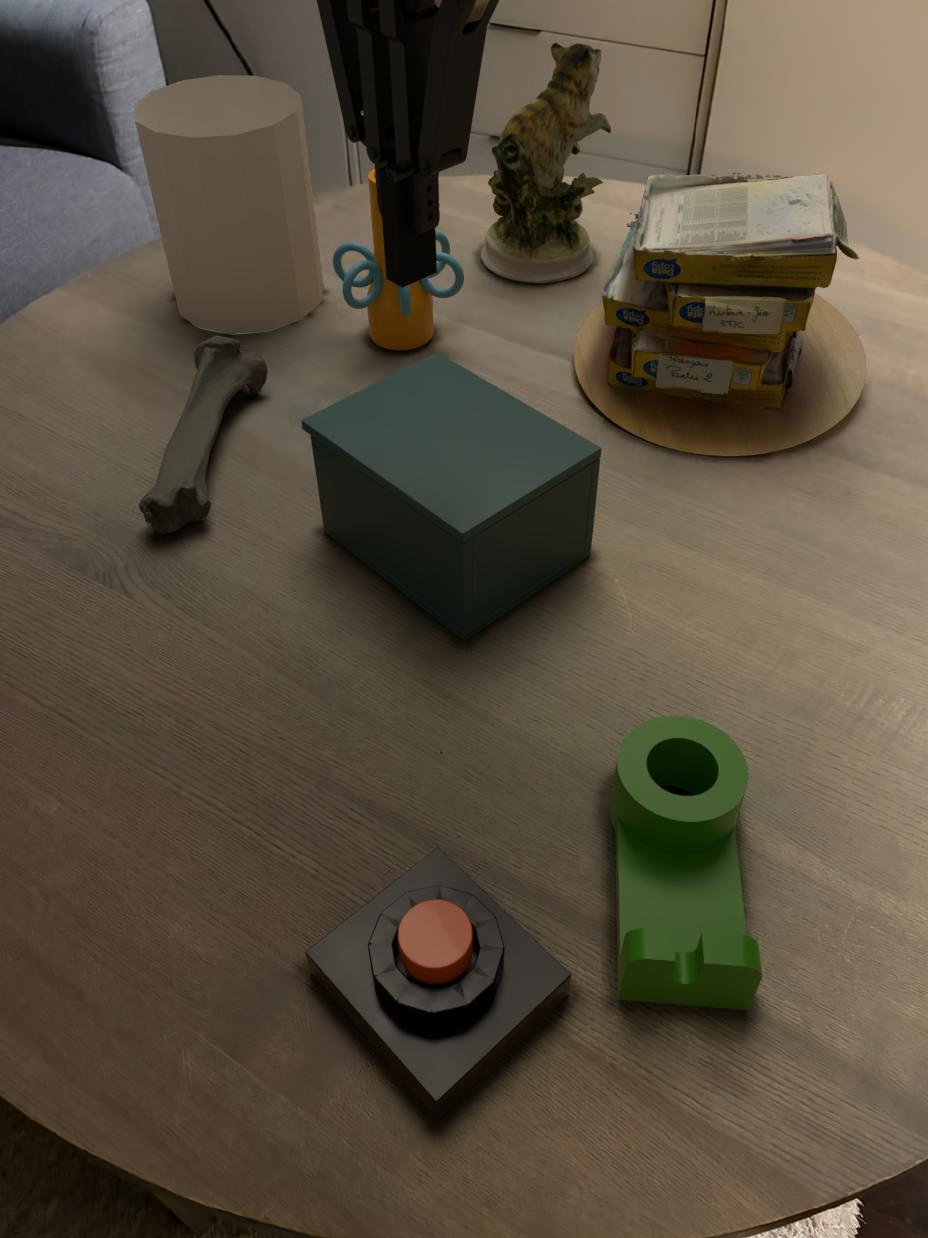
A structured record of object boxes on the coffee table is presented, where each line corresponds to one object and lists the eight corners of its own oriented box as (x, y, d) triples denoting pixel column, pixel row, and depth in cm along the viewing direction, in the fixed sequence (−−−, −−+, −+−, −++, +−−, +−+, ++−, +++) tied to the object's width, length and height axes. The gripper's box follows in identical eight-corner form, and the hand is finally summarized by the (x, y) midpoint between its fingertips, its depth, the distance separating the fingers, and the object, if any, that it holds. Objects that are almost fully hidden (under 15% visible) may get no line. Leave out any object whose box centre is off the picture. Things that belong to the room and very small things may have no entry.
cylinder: (387, 382, 92) (374, 217, 82) (316, 337, 98) (295, 177, 87) (487, 332, 98) (488, 172, 87) (415, 292, 103) (408, 136, 93)
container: (258, 247, 110) (228, 63, 97) (354, 290, 104) (336, 99, 91) (147, 300, 103) (99, 109, 90) (243, 350, 96) (205, 151, 83)
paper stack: (823, 488, 81) (883, 290, 69) (530, 411, 89) (538, 221, 77) (881, 336, 97) (938, 153, 85) (627, 281, 104) (647, 106, 92)
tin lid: (302, 429, 73) (300, 419, 72) (437, 360, 79) (437, 351, 78) (462, 543, 64) (462, 533, 64) (601, 457, 70) (602, 447, 69)
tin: (323, 531, 79) (310, 434, 72) (448, 460, 84) (445, 365, 78) (464, 641, 70) (462, 544, 64) (591, 555, 76) (600, 458, 70)
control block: (569, 994, 53) (574, 957, 50) (437, 1120, 49) (434, 1088, 46) (439, 867, 58) (436, 828, 56) (309, 971, 54) (300, 935, 51)
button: (488, 951, 51) (488, 934, 50) (432, 1000, 49) (431, 984, 48) (439, 902, 53) (438, 885, 52) (384, 948, 51) (382, 931, 50)
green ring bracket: (609, 760, 63) (616, 711, 60) (727, 767, 63) (741, 719, 60) (611, 999, 53) (620, 957, 50) (754, 1010, 53) (772, 968, 49)
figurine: (622, 256, 108) (644, 45, 94) (527, 299, 102) (534, 82, 88) (546, 218, 114) (555, 15, 100) (451, 257, 108) (447, 47, 94)
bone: (204, 378, 93) (189, 317, 89) (276, 379, 93) (265, 318, 88) (132, 542, 78) (110, 478, 74) (218, 545, 78) (201, 480, 73)
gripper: (228, -236, 47) (296, 258, 64) (415, -204, 40) (436, 340, 57) (359, -253, 51) (391, 220, 68) (552, -226, 44) (533, 293, 61)
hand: (411, 275), depth 62 cm, fingers closed
